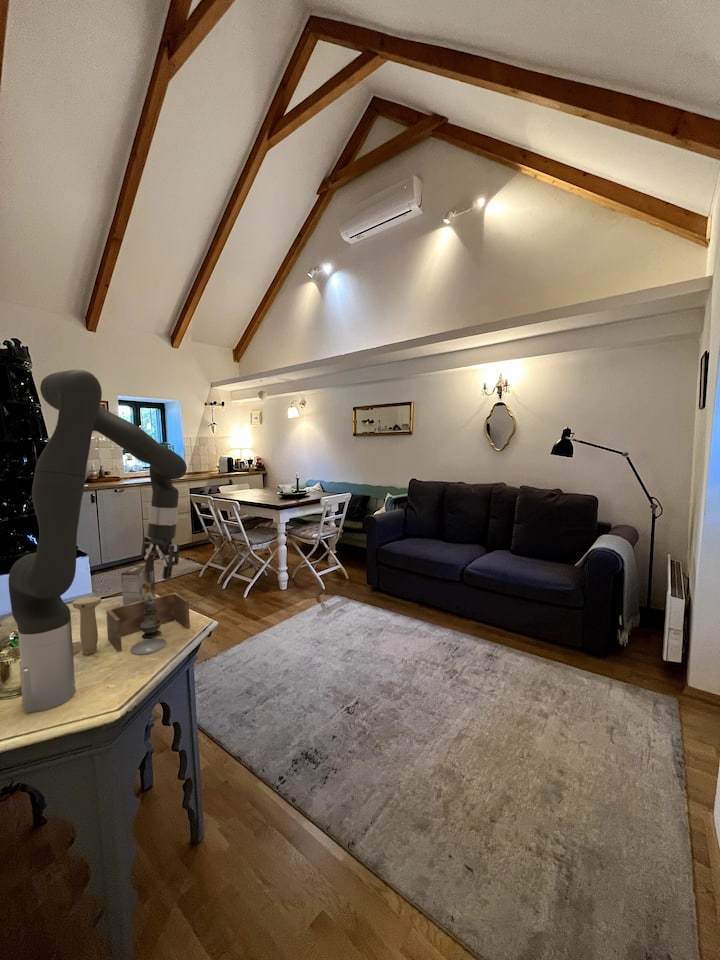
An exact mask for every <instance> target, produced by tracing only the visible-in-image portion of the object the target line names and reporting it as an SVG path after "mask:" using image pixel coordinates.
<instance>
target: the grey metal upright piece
mask: <svg viewBox="0 0 720 960" xmlns="http://www.w3.org/2000/svg"><path fill="white" fill-rule="evenodd" d="M156 611H157V610H156V609H155V600H153V599H150V597H149V599H148V600H147V601H145V611H144V614H145V621H144V622H143V623H142V624H140V627H141V629H142V630H141V632H142V633H143V634H141V638H142V639H143V640H147V639H152V638H159V636H161V634H162V631H160V628H161V625H162V624H161V623H162V621H161V620H158V619H157V618H156Z"/></svg>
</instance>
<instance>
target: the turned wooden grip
mask: <svg viewBox="0 0 720 960" xmlns="http://www.w3.org/2000/svg"><path fill="white" fill-rule="evenodd" d="M101 603H102V598H101V596H90V597H89V596H87V597H82V598H78V599H77V598H76V599H75V600H73V601H72V607H73V608H74V609H76V610H79V613H80V614H79V615H80V616H79V617H80V619H79V620H80V621H79V622H80V623H79V625H80V627H79V636H80V637H79V638H80V643H81V644H80V645H81V648H82V650H81V651H82V654H83V655H86V656H89V655H92V654H95V653H96V652H97V651H98V641H99V633H98V625H97V618H96V607H98V606H99V605H100V604H101Z"/></svg>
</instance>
